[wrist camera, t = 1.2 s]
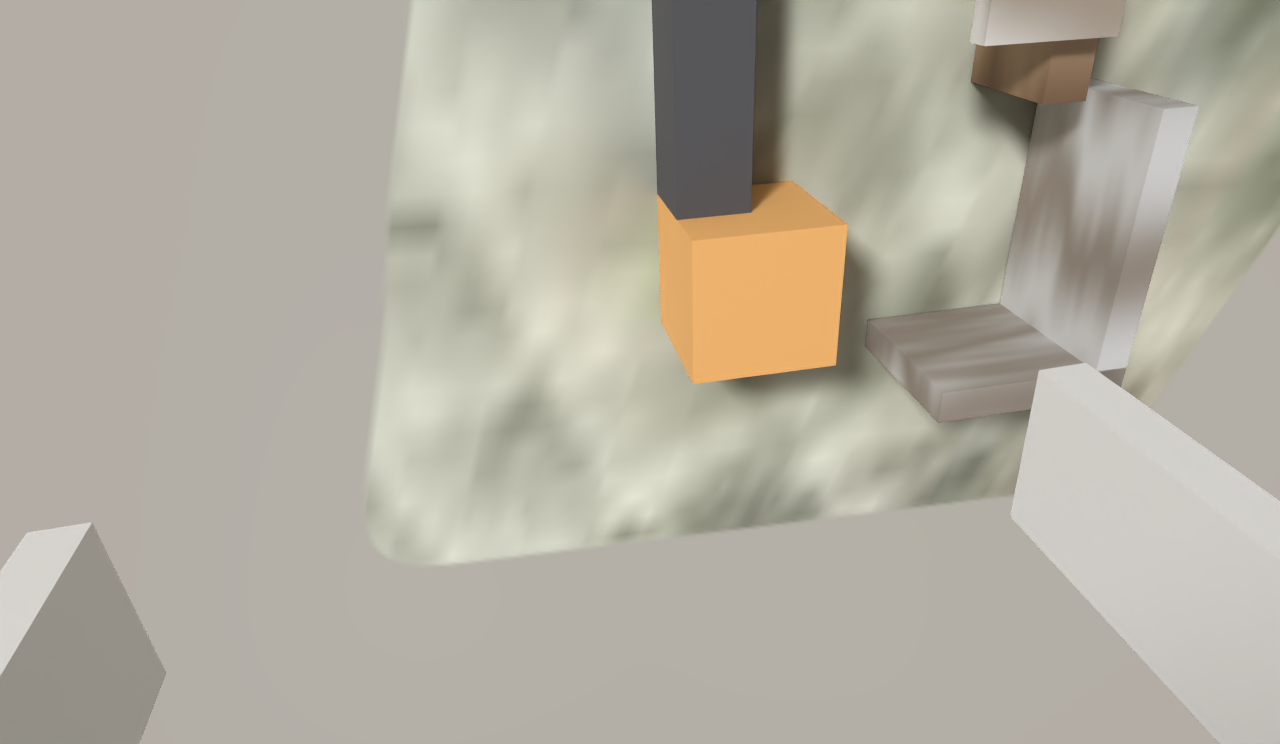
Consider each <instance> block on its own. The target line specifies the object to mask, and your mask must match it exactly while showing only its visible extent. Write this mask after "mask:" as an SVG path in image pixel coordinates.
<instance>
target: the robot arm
mask: <svg viewBox="0 0 1280 744" xmlns="http://www.w3.org/2000/svg"><path fill="white" fill-rule="evenodd" d="M1010 516H1011V518H1012V519H1013V520H1014V521H1015V522H1016V523H1017V524H1018V525H1019V526H1020V527H1021V529H1022V530H1024V532H1025V533H1026V534H1027V535H1028V536H1029V537H1030V538H1031V539H1032V540H1033V542H1034V543H1035V544H1036V545H1037V546H1038V547H1039V548H1040V549H1041V550H1042V551H1043V552H1044V554H1045V555H1046V556H1047V557H1048V558H1049V559H1050V560H1051V561H1052V562H1053V563H1054V564H1055V566H1056V567H1057V568H1058V569H1059V570H1060V571H1061V572H1062V573H1063V574H1064V575H1065V576H1066V577H1067V579H1068V580H1069V581H1070V582H1071V583H1072V584H1073V585H1074V586H1075V587H1076V588H1077V589H1078V591H1079V592H1080V593H1081V594H1082V595H1083V596H1084V597H1085V598H1086V599H1087V600H1088V601H1089V602H1090V604H1092V606H1093V607H1094V608H1095V609H1096V610H1097V611H1098V612H1099V613H1100V614H1101V615H1102V617H1103V618H1104V619H1105V620H1106V621H1107V622H1108V623H1109V624H1110V625H1111V626H1112V627H1113V628H1114V630H1115V631H1116V632H1117V633H1118V634H1119V635H1120V636H1121V637H1122V638H1123V639H1124V640H1125V642H1126V643H1127V644H1128V645H1129V646H1130V647H1131V648H1132V649H1133V650H1134V651H1135V652H1136V654H1137V655H1138V656H1139V657H1140V658H1141V659H1142V660H1143V661H1144V662H1145V663H1146V664H1147V666H1149V668H1150V669H1151V670H1152V671H1153V672H1154V673H1155V674H1156V675H1157V676H1158V677H1159V679H1160V680H1161V681H1162V682H1163V683H1164V684H1165V685H1166V686H1167V687H1168V688H1169V689H1170V691H1171V692H1173V694H1174V695H1175V696H1176V697H1177V698H1178V699H1179V700H1180V701H1181V702H1182V704H1183V705H1184V706H1185V707H1186V708H1187V709H1188V710H1189V711H1190V712H1191V713H1192V714H1193V716H1194V717H1195V718H1196V719H1197V720H1198V721H1199V722H1200V723H1201V724H1202V725H1203V726H1204V727H1205V729H1206V730H1207V731H1208V732H1209V733H1210V734H1211V735H1212V736H1213V737H1214V738H1215V739H1216V740H1217V742H1218V743H1219V744H1280V501H1279V500H1278V499H1276V498H1275V497H1274V496H1272V495H1271V494H1269V493H1268V492H1267V491H1265V490H1264V489H1262V488H1261V487H1260V486H1258V485H1257V484H1255V483H1254V482H1253V481H1251V480H1250V479H1248V478H1247V477H1245V476H1244V475H1243V474H1241V473H1240V472H1238V471H1237V470H1236V469H1234V468H1233V467H1231V466H1230V465H1229V464H1227V463H1226V462H1224V461H1223V460H1222V459H1220V458H1219V457H1217V456H1216V455H1215V454H1213V453H1212V452H1210V451H1209V450H1207V449H1206V448H1205V447H1203V446H1202V445H1200V444H1199V443H1198V442H1196V441H1195V440H1193V439H1192V438H1191V437H1189V436H1188V435H1186V434H1185V433H1184V432H1182V431H1181V430H1180V429H1178V428H1177V427H1175V426H1174V425H1173V424H1171V423H1169V422H1168V421H1167V420H1166V419H1164V418H1163V417H1161V416H1160V415H1159V414H1157V413H1156V412H1154V411H1153V410H1151V409H1150V408H1149V407H1147V406H1146V405H1144V404H1143V403H1142V402H1140V401H1139V400H1137V399H1136V398H1135V397H1133V396H1132V395H1130V394H1129V393H1128V392H1126V391H1125V390H1123V389H1122V388H1121V387H1119V386H1118V385H1116V384H1115V383H1114V382H1112V381H1111V380H1109V379H1108V378H1107V377H1105V376H1104V375H1102V374H1101V373H1100V372H1098V371H1097V370H1095V369H1094V368H1093V367H1091V366H1090V365H1088V364H1087V363H1081V364H1075V365H1068V366H1062V367H1056V368H1050V369H1044V370H1039V372H1038V377H1037V382H1036V388H1035V393H1034V398H1033V403H1032V408H1031V413H1030V418H1029V423H1028V428H1027V433H1026V438H1025V443H1024V448H1023V454H1022V459H1021V464H1020V469H1019V474H1018V479H1017V484H1016V489H1015V494H1014V499H1013V504H1012V509H1011V514H1010ZM165 675H166V671H165V669H164V668H163V665H162V663H161V661H160V659H159V657H158V655H157V653H156V651H155V649H154V647H153V645H152V643H151V641H150V639H149V637H148V635H147V633H146V631H145V629H144V627H143V625H142V623H141V621H140V619H139V617H138V615H137V613H136V610H135V609H134V607H133V605H132V602H131V600H130V598H129V596H128V594H127V592H126V590H125V588H124V586H123V584H122V582H121V580H120V578H119V576H118V574H117V572H116V570H115V568H114V566H113V564H112V562H111V560H110V558H109V556H108V554H107V552H106V550H105V548H104V546H103V543H102V542H101V539H100V537H99V535H98V533H97V531H96V529H95V527H94V525H93V523H86V524H79V525H73V526H66V527H60V528H54V529H47V530H41V531H35V532H29V533H26V535H25V537H24V538H23V539H22V541H21V542H20V544H19V545H18V546H17V548H16V549H15V551H14V552H13V554H12V555H11V557H10V558H9V560H8V561H7V562H6V564H5V565H4V567H3V568H2V570H1V571H0V744H139V743H140V740H141V737H142V735H143V732H144V730H145V727H146V724H147V722H148V719H149V717H150V714H151V711H152V709H153V706H154V704H155V701H156V698H157V696H158V693H159V690H160V688H161V685H162V682H163V680H164V677H165Z"/></svg>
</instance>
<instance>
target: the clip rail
mask: <svg viewBox="0 0 1280 744" xmlns="http://www.w3.org/2000/svg"><path fill="white" fill-rule="evenodd" d="M1125 3H1126V0H976V2H975V9H974V16H973V23H972V30H971V37H970V43H973V44H976V51H975V58H974V65H973V72H972V78H971V82H973V83H976V84H980V85H983V86H986V87H989V88H992V89H995V90H998V91H1001V92H1004V93H1008V94H1011V95H1014V96H1017V97H1020V98H1023V99H1026V100H1029V101H1033V102H1036V103H1037V108H1036V113H1035V119H1034V124H1033V129H1032V135H1031V140H1030V145H1029V151H1028V156H1027V161H1026V167H1025V172H1024V177H1023V183H1022V188H1021V193H1020V199H1019V204H1018V210H1017V215H1016V220H1015V226H1014V231H1013V236H1012V242H1011V247H1010V252H1009V258H1008V263H1007V268H1006V274H1005V279H1004V284H1003V290H1002V295H1001V300H1000V304H992V305H984V306H976V307H968V308H960V309H952V310H944V311H936V312H928V313H920V314H911V315H903V316H895V317H887V318H879V319H871V320H868V325H867V335H866V344H865V347H866V348H867V349H868V350H869V351H870V352H871V353H872V354H873V355H874V356H875V357H876V358H877V359H878V360H879V361H880V362H881V363H882V364H883V365H884V366H885V367H886V369H887V370H888V371H889V372H890V373H891V374H892V375H893V376H894V377H895V378H896V379H897V380H898V381H899V382H900V383H901V384H902V385H903V386H904V387H905V388H906V390H907V391H908V392H909V393H910V394H911V395H912V396H913V397H914V398H915V399H916V400H917V401H918V402H919V403H920V404H921V405H922V406H923V407H924V408H925V409H926V410H927V412H928V413H929V414H930V415H931V416H932V417H933V418H934V419H935V420H936V421H937V422H938V423H940V422H947V421H954V420H961V419H967V418H974V417H981V416H988V415H995V414H1002V413H1009V412H1016V411H1023V410H1029V409H1031V408H1032V403H1033V398H1034V393H1035V388H1036V382H1037V377H1038V372H1039V370H1044V369H1050V368H1056V367H1062V366H1068V365H1075V364H1081V363H1087V364H1088V365H1090V366H1091V367H1093V368H1094V369H1095V370H1097V371H1098V372H1100V373H1101V374H1102V375H1104V376H1105V377H1107V378H1108V379H1109V380H1111V381H1112V382H1114V383H1115V384H1116V385H1118V386H1119V387H1121V385H1122V381H1123V378H1124V374H1125V370H1126V367H1127V363H1128V360H1129V356H1130V353H1131V349H1132V345H1133V342H1134V338H1135V335H1136V331H1137V327H1138V324H1139V320H1140V317H1141V313H1142V309H1143V306H1144V302H1145V299H1146V295H1147V292H1148V288H1149V284H1150V281H1151V277H1152V274H1153V270H1154V266H1155V263H1156V259H1157V256H1158V252H1159V248H1160V245H1161V241H1162V238H1163V234H1164V230H1165V227H1166V223H1167V220H1168V216H1169V213H1170V209H1171V205H1172V202H1173V198H1174V195H1175V191H1176V187H1177V184H1178V180H1179V177H1180V173H1181V169H1182V166H1183V162H1184V159H1185V155H1186V151H1187V148H1188V144H1189V141H1190V137H1191V134H1192V130H1193V126H1194V123H1195V119H1196V116H1197V112H1198V108H1199V106H1197V105H1194V104H1190V103H1186V102H1182V101H1178V100H1174V99H1170V98H1166V97H1162V96H1158V95H1154V94H1150V93H1146V92H1143V91H1139V90H1135V89H1131V88H1127V87H1123V86H1119V85H1115V84H1111V83H1107V82H1103V81H1099V80H1096V79H1092V78H1091V73H1092V69H1093V64H1094V59H1095V55H1096V50H1097V45H1098V41H1099V38H1103V37H1117V36H1118V35H1119V30H1120V26H1121V21H1122V17H1123V12H1124V8H1125Z"/></svg>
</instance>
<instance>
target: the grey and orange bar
mask: <svg viewBox="0 0 1280 744" xmlns="http://www.w3.org/2000/svg"><path fill="white" fill-rule="evenodd" d="M756 13H757V0H652V22H653V56H654V91H655V126H656V161H657V195H658V230H659V265H660V300H661V322H662V324H663V326H664V328H665V330H666V332H667V334H668V336H669V338H670V340H671V342H672V344H673V346H674V348H675V350H676V352H677V354H678V356H679V358H680V359H681V361H682V363H683V365H684V367H685V369H686V371H687V373H688V375H689V377H690V379H691V381H692V383H693V384H698V383H706V382H714V381H721V380H729V379H736V378H744V377H752V376H759V375H767V374H774V373H782V372H789V371H797V370H805V369H812V368H820V367H827V366H835V365H836V357H837V345H838V334H839V322H840V310H841V299H842V287H843V275H844V264H845V252H846V240H847V229H848V224H847V223H845V222H844V221H843V220H841V219H840V218H839V217H838V216H836V215H835V214H834V213H833V212H831V211H830V210H829V209H827V208H826V207H825V206H824V205H822V204H821V203H820V202H818V201H817V200H816V199H815V198H813V197H812V196H811V195H810V194H808V193H807V192H806V191H804V190H803V189H802V188H801V187H799V186H798V185H797V184H795V183H794V182H793V181H787V182H776V183H766V184H756V185H752V160H753V123H754V86H755V50H756Z"/></svg>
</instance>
